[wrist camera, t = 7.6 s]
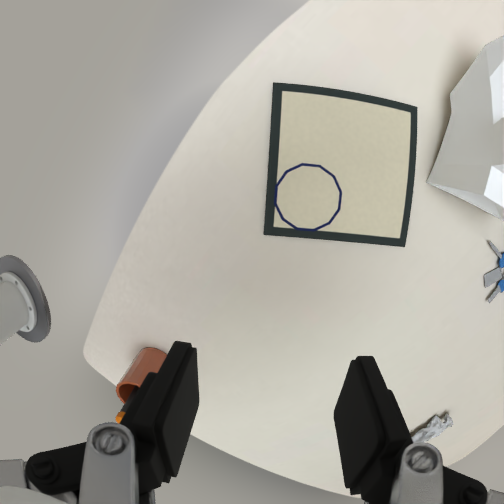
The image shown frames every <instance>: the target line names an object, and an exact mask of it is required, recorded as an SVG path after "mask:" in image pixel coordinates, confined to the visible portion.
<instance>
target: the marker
mask: <svg viewBox="0 0 504 504" xmlns="http://www.w3.org/2000/svg"><path fill="white" fill-rule="evenodd" d="M139 388H140V387H138V386H136V385H135V387H134V388H133V390H132V392H131V394H130V395H129V397H128V399H127V400H126V402H125V404H124V406H123V408H122V409H121V411H120V412H119V413H118V415H117V416H116V421H117V422H118V423H120V421H121V420H122V418H123V416H124V414H125V412H126V411H127V409H128V407H129V405H130V403H131V402H132V400H133V398H134V396H135V395H136V393H137V391H138V389H139Z"/></svg>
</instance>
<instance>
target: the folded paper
mask: <svg viewBox="0 0 504 504" xmlns="http://www.w3.org/2000/svg"><path fill="white" fill-rule="evenodd" d="M450 101H451V110H452V113H451V117H450V120H449V123H448V127H447V130H446V133H445V136H444V139H443V142H442V145H441V148H440V151H439V154H438V156H437V159H436V162H435V164H434V167H433V169H432V171H431V173H430V175H429V178H428V180H427V182H426V183H428V184H431V185H433V186H435V187H437V188H440V189H442V190H444V191H446V192H448V193H450V194H452V195H455V196H457V197H459V198H461V199H463V200H465V201H467V202H469V203H471V204H473V205H475V206H477V207H479V208H480V209H482V210H484V211H486V212H488V213H490V214H492V215H493V216H495V217H497V218H499V219H500V220H503V221H504V35H503V36H501V37H500V38H498V39H496V40H494V41H492V42H490V43H488V44H486V45H485V46H484V48H483V49H482V51H481V52H480V54H479V55H478V56H477V58H476V59H475V61H474V62H473V63H472V65H471V66H470V68H469V69H468V70H467V72H466V73H465V75H464V76H463V77H462V79H461V80H460V81H459V83H458V84H457V85H456V87H455V88H454V89H453V91H452V92H451V93H450Z"/></svg>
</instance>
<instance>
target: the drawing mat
mask: <svg viewBox="0 0 504 504" xmlns="http://www.w3.org/2000/svg"><path fill="white" fill-rule="evenodd" d="M416 145H417V107H415V106H411V105H408V104H404V103H400V102H396V101H392V100H388V99H384V98H379V97H375V96H370V95H365V94H360V93H355V92H349V91H343V90H337V89H330V88H323V87H316V86H307V85H298V84H287V83H273V99H272V116H271V133H270V149H269V165H268V180H267V195H266V210H265V224H264V235H273V236H286V237H299V238H311V239H323V240H335V241H346V242H357V243H368V244H379V245H390V246H400V247H405V243H406V237H407V231H408V225H409V218H410V211H411V203H412V195H413V186H414V175H415V163H416Z"/></svg>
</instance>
